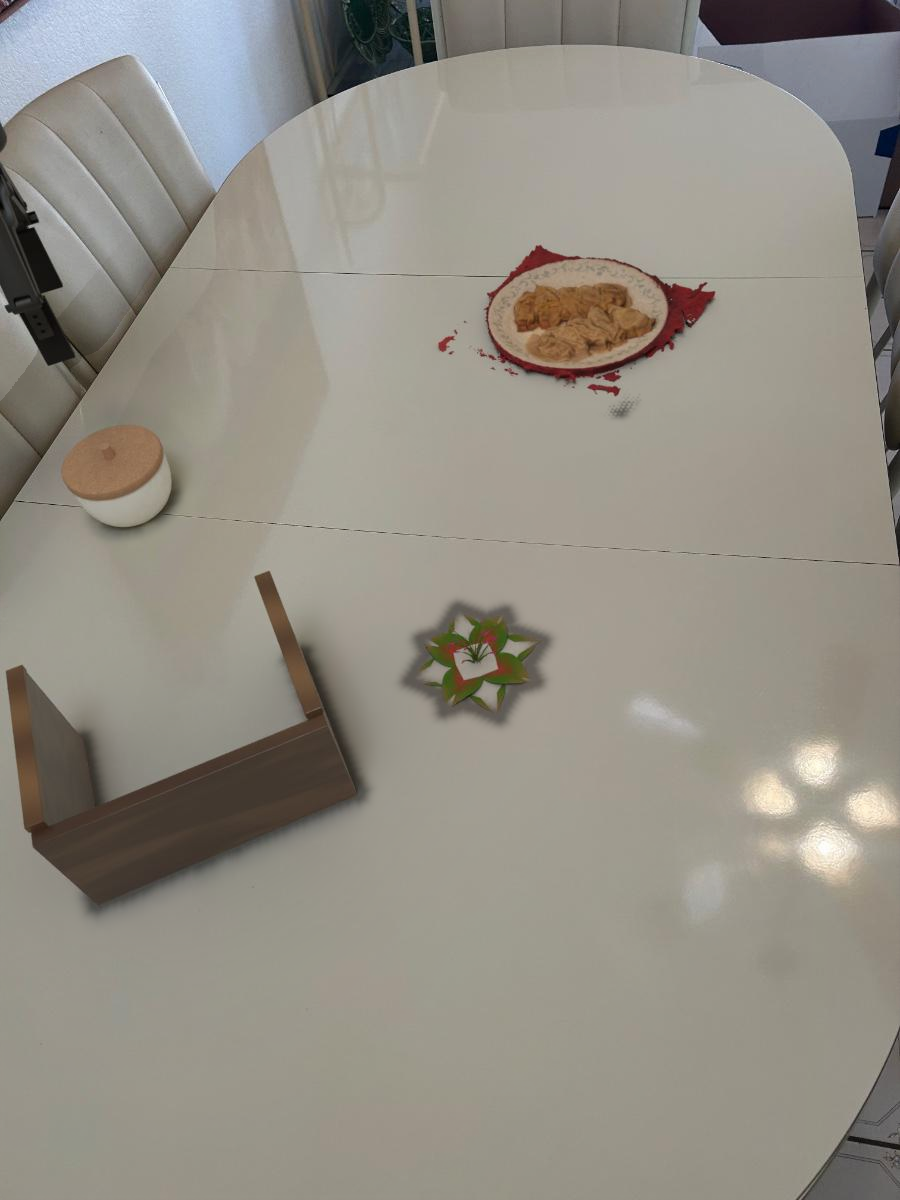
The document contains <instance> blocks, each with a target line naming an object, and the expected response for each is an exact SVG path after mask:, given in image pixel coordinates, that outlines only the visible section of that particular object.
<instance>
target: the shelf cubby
mask: <svg viewBox="0 0 900 1200" xmlns="http://www.w3.org/2000/svg"><path fill="white" fill-rule="evenodd" d="M254 580H255V584H256V587H257V588H258V592H259V594H260V597H261V600H262V602H263V605H264V608H265V610H266V613H267V616H268V619H269V621H270V624H271V627H272V629H273V632H274V635H275V638H276V641H277V643H278V646H279V649H280V651H281V654H282V656H283V660H284V663H285V665H286V667H287V670H288V673H289V676H290V678H291V682H292V684H293V686H294V689H295V693H296V695H297V698H298V700H299V703H300V706H301V708H302V710H303V713H304V716H305V718H306V719H307V720H305V721H302V722H300V723H297V724H294V725H292V726H290V727H288V728H284V729H283V730H280V731H278V732H275V733H273V734H270V735H267V736H266V737H263V738H261V739H260V738H259V739H258V740H255V741H253V742H251V743H248V744H245V745H244V746H243V745H242V746H241V747H239V748H236V749H234V750H231V751H229V752H226V753H224V754H222V755H219V756H216V757H214V758H212V759H208V760H207V761H204V762H202V763H200V764H197V765H195V766H191V767H190V768H188V769H185V770H183V771H179V772H177V773H175V774H172V775H170V776H168V777H165V778H163V779H160V780H158V781H155V782H153V783H151V784H148V785H146V786H143V787H141V788H138V789H136V790H133V791H131V792H128V793H126V794H124V795H121V796H119V797H117V798H114V799H111V800H108V801H107V802H104V803H102V804H98V805H96V801H95V795H94V789H93V784H92V778H91V773H90V766H89V760H88V756H87V750H86V744H85V739H84V738H83V737H82V736H81V735H80V733H79V732H78V731H77V730H76V729H75V727H74V726H73V725H72V724H71V722H70V721H69V720H68V719H67V718H66V717H65V716H64V714H63V713H62V712H61V711H60V710H59V708H58V707H57V706H56V705H55V704H54V703H53V701H52V700H51V699H50V698H49V696H48V695H47V694H46V693H45V692H44V690H42V689H41V687H40V686H39V685H38V683H37V682H36V681H35V680H34V679H33V677H31V675H30V674H29V673H28V670H27V668H26V667H25V666H24V664H20V665H18V666H15V667H12V668H9V669H7V670H5V678H6V684H7V695H8V703H9V712H10V719H11V720H10V721H11V727H12V736H13V745H14V753H15V761H16V762H15V763H16V769H17V778H18V786H19V788H18V789H19V796H20V803H21V804H20V805H21V813H22V821H23V828H24V830H25V831H26V832H27V833H28V834H30V836H31V837H30V838H31V844H32V845H31V847H32V848H33V849H34V850H35V851H36V852H38V854H40V855H41V856H42V857H43V858H44V859H45V860H47V862H48V863H49V864H51V865H52V866H53V867H54V868H55V869H56V870H57V871H59V872H60V873H61V874H62V875H63V876H64V877H65V878H67V879H68V880H69V881H70V882H71V883H72V884H73V885H74V886H75V887H77V888H78V889H79V890H80V891H81V892H82V893H83V894H84V895H86V896H87V898H89V899H90V900H91V901H92V902H93V903H95V905H97V906H100V905H102V904H105V903H107V902H109V901H111V900H115V899H116V898H118V897H121V896H123V895H125V894H129V893H130V892H133V891H135V890H137V889H139V888H142V887H144V886H146V885H149V884H152V883H154V882H156V881H158V880H162V879H163V878H166V877H168V876H170V875H172V874H174V873H177V872H180V871H182V870H184V869H186V868H189V867H191V866H193V865H196V864H198V863H201V862H203V861H205V860H207V859H211V858H213V857H215V856H217V855H219V854H222V853H224V852H226V851H229V850H232V849H234V848H236V847H238V846H240V845H243V844H245V843H248V842H250V841H252V840H255V839H257V838H259V837H262V836H265V835H267V834H269V833H271V832H274V831H276V830H278V829H281V828H282V827H285V826H287V825H291V824H292V823H294V822H297V821H299V820H301V819H304V818H306V817H308V816H311V815H313V814H315V813H319V812H321V811H323V810H326V809H328V808H330V807H333V806H334V805H336V804H340V803H342V802H344V801H347V800H349V799H351V798H353V797H356V796H357V795H358V793H357V790H356V788H355V784H354V782H353V779H352V777H351V774H350V771H349V770H348V766H347V764H346V761H345V759H344V756H343V754H342V751H341V748H340V746H339V743H338V740H337V738H336V735H335V733H334V731H333V728H332V724H331V722H330V719H329V717H328V715H327V712H326V709H325V707H324V704H323V702H322V699H321V697H320V694H319V691H318V689H317V686H316V684H315V681H314V678H313V676H312V673H311V671H310V668H309V665H308V663H307V661H306V658H305V655H304V653H303V651H302V648H301V646H300V643H299V641H298V638H297V635H296V634H295V632H294V631H295V630H294V628H293V626H292V623H291V621H290V619H289V617H288V614H287V611H286V610H285V606H284V603H283V602H282V601H283V600H282V599H281V596H280V593H279V591H278V588H277V586H276V583H275V580H274V577H273V576H272V572H271V571H270V570H267V571H264V572H262V573H259V574H256V575H254Z"/></svg>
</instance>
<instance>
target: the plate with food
mask: <svg viewBox="0 0 900 1200" xmlns="http://www.w3.org/2000/svg"><path fill="white" fill-rule="evenodd" d="M707 284H708V282H707V281H705V282H703V283H700V284H698V288H695V289H693V288H691V287H686V286H683V285H679V284H677V283H672V284H671V285H670V284H668V282H665V283H664V281H662V280H661V279H660V278H659V277H658V276H657V274H654V275H653V274H649V273H648V272H645V271H643V270H642V269H640V268H639V267H637V266H635V265H632V264H630V263H627V262H625V261H619V260H617V259H615V258H614V259H612V258H609V257H608V258H607V257H604V258H603V257H601V258H600V257H590V256H589V257H581V256H579V255H574V256H571V255H570V256H567V255H563V254H560V253H556V252H552V251H549V250H548V249H547V248H544V247H543V245H541V244H539V245H535V248H534V250H532V249H531V251H530V253H529V255H526V256H525V257H524V258H523V260H522V262H521V263H520V264H519V265H517V266H516V267H515V270H510V272H509V276H508V277H507V278H506V279H505V280H504V281H503V282H502V283H501V284H500V285H499V286H498V287H497V288H496V289H495V290H493V291H491V292H487V293H486V295H487V296H488V299H490V301H489V303H488V306H486V307H484V308H483V311H486V312H485V314H486V316H485V320H484V321H485V322H486V324H487V326H488V327H487V330H488V332H487V333H488V335H489V337H490V339H491V341H492V343H493V345H494V346H495V348H496V349H497V350H498V351H499V352H500V354H499V355H498V356H497V358H495V356H494V355H492V354H489V352H487V353H486V354H485V352H484V351H483V349H482V348H477V349H475V348H473V350H475V352H476V354H479V356H480V357H481V358H482V357H483V358H484V357H486V358H488V359H490V360H492V361H496V360H498V362H500V363H501V364H505V363H506V361H508V362H510V363H509V366H510V367H508V368H504V369H503V370H504V371H505V372H508V373H509V375H510V376H513V377H514V375H515V376H518V375H519V372H515V371H513V369H512V368H513V366H511V365H517V366H518V367H521V368H523V370H526V371H525V372H526V373H528V372H527V371H531V372H533V373H540V374H544V375H549V376H554V378H555V379H558V378H559V377H564V381H566V382H568V381H570V380H572V381H573V382H576V380H577V379H579V378H581V377H582V378H585V377H590V378H595V379H596V380H597V379H601V378H603V380H606V381H610V382H614V381H617V380H620V378H621V377H622V375H620V374H618V373H620V368H623V367H624V366H625V365H626V364H628V363H632V362H633V361H636V360H638V359H640V358H642V357H644V356H646V357H645V359H649V358H652V357H653V356H655V354H656V352H657V351H659V350H660V351H661V352H662V353H664V352H665V349H666V347H665V345H667V344H668V343H669V350H671V351H673V349H674V347H675V342H673V341H672V340H671V337H672V336H674V335H675V334H676V332H682V331H683V330H684V328H685V324H684V322H685V323H686V324H687V325H688V326H689V327H693V325H694V324H695V323H696V321H697V320H698V319H699V317H700V316H701V315H702V314H703V312H704V310H705V308H706V305H707V303H708V302H711V301H713V299H714V297H715V295H716V291H715V290H713V291H711V290H710V291H705V290H702V289H703V288H704V287H705V286H707ZM463 323H465V324H467V321H466V320H463ZM458 326H459V324H458ZM453 331H454V334H455V335H451V336H449V335H448V336H445V337H444V338H443V340H442V341H438V345H437V347H438V349H440V350H441V352H443V353H445V352H446V351H447V349H448V348H451V347H450V345H447V344H448V343H450V341H456V340H457V339H456V338H455V337H456V335H458V331H457V329H453ZM471 348H472V346H471V345H470V346H469V347H468V349H471ZM453 353H455V351H454V350H451V351H449V354H451V355H452V354H453ZM658 360H659V358H657V361H658ZM633 365H636V362H634V363H633ZM491 369H493V370H495V367H494V366H491ZM629 369H630V370H633V368H632V367H629ZM605 373H606V374H605ZM599 374H601V375H599ZM602 374H603V375H602ZM595 375H598V376H595ZM563 387H566V385H565V384H564V385H563ZM571 388H572V389H575V388H576V387H575V386H571ZM586 388H587V389H589V390H591V391H593V392H594V395H598V392H596V390H603V391H606V392H607V393H606V394H607V395H608V394H609V393H612V394H613V397H618V395H619V394H620V391H621V390H622V389H621V387H618V386H617V385H613V386H610V385H609V386H607V385H601V384H597V383H596V384H595V383H591V384H589V385H588V386H587V387H586Z"/></svg>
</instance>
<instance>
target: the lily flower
mask: <svg viewBox="0 0 900 1200" xmlns="http://www.w3.org/2000/svg"><path fill="white" fill-rule="evenodd" d="M463 616H464V617H465V620H466V621H468V622H469V623H470V625H471V626H473V628H472V629H471V631H470V632H469V634H468V635H469V636H468V639H467V638H466V637H465V636H463V635H461V634H459V633H458V632H457V631H456V630H455V629H456V627H455V624H456V623H455V622H456V621H455V618H456V617H455V615H454V617H453V619H452V621H450V624H449V626H448V630H447V632H446V633H441V634H438V635H434V636H433V637H431V638H430V639H429V641H430V642H432V643H433V644H434V645H430V644H424V646H425V647H426V648H427V651H428V652H429V654H430V655H431V656H432V657H433V658H431V659H429V660H428V661H426V662H425V663H424V664H423V665H422V667H421V668H420V669H419V670H418V672H417V674H419V673H421V672H422V671H424V670H426V669H428V668H430V667H432V665H433V663H434V661H435V660H436V661H437V662H438V663H440V664H442V665H443V666H446V667H448V668H449V667H450V668H449V669H448V670H447V671H445V673H444V675H443V677H442V682H441V683H439V682H438V681H430V682H428V681H427V682H424V685H428V686H434V687H442V688H441V689H442V695H443V701H444V702H445V703H446V704H447V703H448V702H450V700H451V699H452V698H453V700H452V703H451V706H450V707H453V706H455V705H457V703H458V702H461V701H462V700H465V698H467V697H468V696H469V697H470V699H471V700H472V701H473V702H475V703H476V704H478V705H479V706H480V707H482V708H483V709H485V710H487V711H490V712H492V710H491V708H490V707H489V705H487V703H486V702H485V701H484V700H483V698H482V697H479V696H476V695H473V693H475V692H476V691H477V690H478V689H479V688H480V687H481V686H482V684H483V682H484V680H485V682H489V683H493V684H500V687H499V688H498V689H497V692H496V705H497V708H496V709H497V713H498V712H499V710H500V708H501V703H502V702H503V700H504V696H505V693H506V685H507V684H523V683H530V682H528V681H527V680H531V676H530V675H529V673H528V672H527V671H526V667H525V666H524V664H523V662H522V661H523V660H524V659H525V658H526V657H527V656H528V655H529V654H530V653H531V652H532V651H533V650H534V648H535V647H536V645H538V644H539V643H540V642H542V640H541V639H535V638H532V637H528V638H527V636H524V635H521V634H508V629H507V623H506V621H505V620H504V618H505V617H504V616H503V617H502V619H500V618H501V616H499V615H498V616H494V617H492V618H486V619H485V618H484V617H483V618H482V620H481V621H480V622H479V621H478V620H476V619H475V618H473V616H472V617H471V616H469V615H467V614H463ZM499 620H500V621H499ZM467 631H469V628H467ZM507 639H508V640H509V641H511V642H514V643H517V642H518V643H523V642H524V643H525V642H535V643H534V644H532V645H530V646H529V647H527V648H526V649H524V650H523V651H521V652H520V653H518V654H517V656H516V655H514V654H512V653H510V652H505V651H504V652H503V651H501V650H502V649H503V648H504V646H505V644H506V642H507ZM483 645H486V646H485V647H484V649H483V650H482V648H483ZM488 647H490V652H487V653H485V652H486V650H487V648H488ZM462 649H463V651H460V650H462ZM466 650H467V651H468V652H466ZM481 650H482V652H481ZM480 652H481V653H480ZM458 653H463V654H465V655H467V656H469V657H470V658H471V659H463V660H462V661H461V662H460V664H464V663H465V662H470V663H472V664H475V663H476V664H480V665H481V664H482V663H481V661H482V660H484V658H485V657H487V656H488V655H491V654H492V655H493V656H494V658H495V661H496V662H495V663H496V667H497V669H494V670H492V671H490V672H487V673H484V674H482V675H479V676H476V677H471V678H467V679H464V678H463V675H462V673H461V671H460V670H459V668H458V666H457V663H456V658H455V655H454V654H458ZM525 679H526V680H525ZM492 714H493V715H495V713H494V712H492Z"/></svg>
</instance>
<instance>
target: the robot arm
mask: <svg viewBox="0 0 900 1200" xmlns="http://www.w3.org/2000/svg"><path fill="white" fill-rule="evenodd" d="M2 124H3V123H1V121H0V153H2V152H3V151H4V149H5V147H6V146H7V143H8V136H7V133H6V131H5V128H4V126H3V125H2ZM17 188H18V187H16V185H15V183H14V182H13V180H12V179H11V176H10V175H9V173H8V172H7V171H6V169H5V167H4V165H3V163H2V161H0V288H1V291H2V293H3V294H4V297H5V299H6V301H7V303H8V304H5V305H3V306H4V309H5V311H6V312H7V314H11V313H12V314H13V315H14V316H16V315H19V316H20V319H21V321H22V322H23V324H24V326H25V327H26V329H27V331H28V333H29V335H30V336H31V339H32V340H33V342H34V344H35V346H36V347H37V349H38V351H39V352H40V355H41V356H42V358H43V361H44V362H45V363H46V365H47V366H48V367H50V366H53V365H55V364H59V363H62V362H65V361H69V360H72V359H75V358H76V353H75V351H74V349H73V347H72V345H71V343H70V342H69V339H68V337H67V336H66V334H65V332H64V330H63V328H62V326H61V324H60V322H59V321H58V318H57V317H56V314H55V312H54V310H53V308H52V306H51V305H50V303H49V301H48V299H47V297H46V296H45V294H46V293H49V292H52V291H55V290H59V289H62V288H64V285H63V284H64V283H63V282H62V279H61V278H60V275H59V274H58V272H57V270H56V268H55V265H54V263H53V262H52V260H51V257H50V255H49V253H48V251H47V250H46V248H45V245H44V243H43V241H42V239H41V238H40V236H39V233H38V231H37V229H36V227H35V226H33V225H36V224H39V223H40V220H39V217H38V214H37V212H36V210H33V211H30V212H27V211H29V210H28V204H27V202H26V201H25V200H24V198H23V197H22V195H21V193H20V191H19V190H18V189H17ZM29 226H32V227H29ZM44 293H45V294H44Z"/></svg>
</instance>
